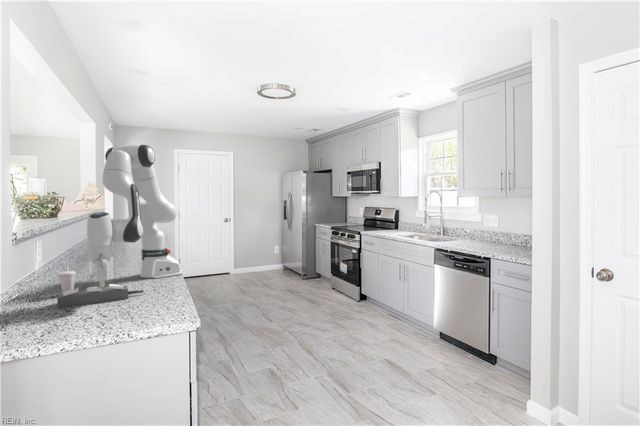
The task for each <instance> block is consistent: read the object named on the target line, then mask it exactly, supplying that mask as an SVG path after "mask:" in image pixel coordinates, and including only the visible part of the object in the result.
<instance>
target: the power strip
mask: <svg viewBox="0 0 640 426" xmlns="http://www.w3.org/2000/svg"><path fill="white" fill-rule="evenodd" d="M140 293H141V294H143V293H144V289H138V290H129V289H128V285H123V289H114V288H109V287H102V291H89V292H87V289H86V290H85V289H84V290H79V292H76V293H73V294H69V295H66V296H63V293H62V292H59V293H58V295H57V297H56V298H57V299H56V300H57V308H58V309H59V308H67V307H75V306H83V305H89V304H96V303H103V302H104V303H105V302H111V301H120V300H126V299H129V295H133V294H140Z"/></svg>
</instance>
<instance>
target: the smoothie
mask: <svg viewBox="0 0 640 426" xmlns="http://www.w3.org/2000/svg"><path fill="white" fill-rule="evenodd" d="M66 265H67V266H66V269H67V270H66V271H61V272H58V273H57V274H58V275H57V276H58V277H59V282H60V287H61V293H63V292H65V291H68V290H72V289H75V279H76V275H77V271H75V270H74V271H73V270H69V269H70V266H69V265H70V264H69V262H66Z"/></svg>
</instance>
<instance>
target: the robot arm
mask: <svg viewBox="0 0 640 426" xmlns="http://www.w3.org/2000/svg"><path fill="white" fill-rule="evenodd" d="M104 155H105V156H104V157H105V158H104V159H105V163H104V167H103V174H102V184H103V186H104V188H105V189H106V190H108V191H109V192H110V193H112V194H114V195H116V196H117V195H118V196H120V197H123V198H125V199H126V200H127V207H128V209H127V210H128V217H127V218H126V219H113V218H112V217H111V214H110V213H109V212H93V213H91V214H89V215H88V218H87V223H86V225H87V226H86V237H87V238H88V239H87V240H88V244H87V258H88V259H90V260H91V263H94V268H95V272H96V273H95V274H96V279H97V281H99V287H102V288H106V287H105V286H106V280H108V279H109V273H108V271H109V270H108V269H109V268H108V262H110V261H111V258H112V257H114V243H124V242H125V243H136V242H138V241H139V240H141V247H142V249H141V252H140V255H141V256H140V257H141V269H140V273H139V277H140V278H143V279H144V278H145V279H161V278H167V277H168V278H169V277H174V276H181V275H185V274H186V270H185V269H184V268H182V267H181V264H180V261H179V260H177V259H176V258H175V257H174V256H171V255H170V254H171V252H172V250H171V249H170V248H166V241H165V240H166V239H165V238H166V237H165V236H166V235H165V233H164V232H163V231H162V230H160V229H159V228H158V226H157V224H166V223H167V224H168V223H171V222H173V221H175V219H176V217H177V214H178V211H177V209H176V206H175V205H174V204H173V203H171V202H170V201H168V199H166V197H165V196H164V194H163V193H162V191H161V189H160V187H159V186H160V185H159V182H158V177H157V175H156V173H157V172H156V170H155V166H154V163H155V161H156V153H155V150H154V149H153V148H152V146H150V145H148V144H128V145H121V146H112V147H110V148H108V149H107V150H106V153H105V154H104ZM140 198H142V199H143V200H144V201H143V202H141V201H140Z"/></svg>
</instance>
